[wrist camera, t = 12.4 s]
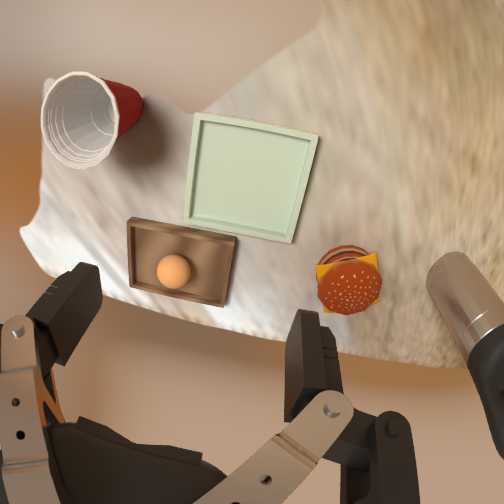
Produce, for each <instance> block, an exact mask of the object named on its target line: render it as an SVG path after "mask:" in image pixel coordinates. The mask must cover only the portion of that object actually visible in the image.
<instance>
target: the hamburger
mask: <svg viewBox="0 0 504 504" xmlns="http://www.w3.org/2000/svg"><path fill="white" fill-rule="evenodd" d="M315 267H316V279H317V282H318V295H317V296H318V298H319V299H320V300H321V302H322V303H323V307H324V312H325V313H335V312H336V313H339V314H343V315H349V314H353V313H357V312H361V311H364V310H365V309H366V308H368V307H369V306H370V305H372V304H374V303H376V302H378V301H379V292H380V288H381V284H382V278H381V276H380V274H379V273H378V264H377V255H376V252H374V253H372V254H370V255H369V254H368V253H367V252H366V251H365V250H364V249H362V248H359V247H356V246H353V245H348V246H339V247H337V248H335V249H332V250H330V251H329V252H328V253H327V254H325V255H324V256H323V257H322V258H321V260H320V262H319V265H315Z"/></svg>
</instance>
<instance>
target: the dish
mask: <svg viewBox="0 0 504 504" xmlns="http://www.w3.org/2000/svg"><path fill="white" fill-rule="evenodd" d="M318 137H319V135H318V134H317V133H313V132H309V131H304V130H300V129H296V128H291V127H286V126H282V125H277V124H272V123H267V122H262V121H256V120H251V119H245V118H239V117H233V116H227V115H220V114H213V113H206V112H196V113H195V116H194V123H193V130H192V138H191V145H190V153H189V162H188V171H187V180H186V190H185V200H184V211H183V223H186V224H192V225H197V226H202V227H207V228H213V229H218V230H223V231H228V232H233V233H239V234H244V235H249V236H254V237H259V238H264V239H269V240H274V241H279V242H284V243H289V244H291V242H292V238H293V234H294V231H295V227H296V223H297V220H298V216H299V212H300V208H301V204H302V201H303V197H304V193H305V189H306V185H307V181H308V178H309V174H310V170H311V166H312V162H313V158H314V154H315V150H316V146H317V141H318Z"/></svg>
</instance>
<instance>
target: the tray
mask: <svg viewBox="0 0 504 504" xmlns="http://www.w3.org/2000/svg"><path fill="white" fill-rule="evenodd" d="M235 241H236V236H231V235H226V234H220V233H215V232H210V231H205V230H200V229H194V228H189V227H184V226H179V225H173V224H168V223H163V222H157V221H152V220H147V219H141V218H136V217H131V218H130V219H129V220H128V221H127V248H128V269H129V285H130V287H132V288H136V289H140V290H144V291H149V292H153V293H157V294H161V295H166V296H170V297H175V298H179V299H184V300H188V301H193V302H197V303H202V304H207V305H212V306H217V307H222V308H224V304H225V299H226V293H227V287H228V281H229V276H230V270H231V264H232V258H233V252H234V246H235ZM172 254H175V255H179V256H182V257H183V258H185V259H186V260H187V262H188V263H189V266H190V270H191V274H190V278H189V280H188V282H187V283H186V284H185V285H184V286H182V287H180V288H177V289H171V288H168V287H165V286H164V285H163V284H162V283H161V282H160V281H159V279H158V276H157V267H158V264H159V262H160V261H161V260H162V259H163V258H164V257H166V256H168V255H172Z"/></svg>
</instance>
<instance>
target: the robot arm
mask: <svg viewBox="0 0 504 504" xmlns="http://www.w3.org/2000/svg"><path fill="white" fill-rule="evenodd" d="M427 288H428V290H429V292H430V294H431V296H432V298H433V299H434V301H435V303H436V305H437V307H438V309H439V311H440V313H441V314H442V316H443V318H444V320H445V322H446V324H447V326H448V328H449V330H450V332H451V334H452V336H453V338H454V340H455V342H456V344H457V346H458V348H459V350H460V352H461V354H462V356H463V358H464V361H465V363H466V365H467V367H468V369H469V371H470V373H471V376H472V378H473V381H474V383H475V386H476V388H477V391H478V393H479V395H480V398H481V401H482V404H483V407H484V411H485V414H486V418H487V421H488V425H489V429H490V432H491V435H492V439H493V442H494V444H495V447H496V449H497V451H498V453H499V455H500V456H501V457H502V458H503V459H504V303H503V302H502V300H501V299H500V297H499V296H498V295H497V293H496V292H495V291H494V289H493V288H492V287H491V285H490V284H489V283H488V281H487V280H486V279H485V278H484V276H483V275H482V274H481V273H480V271H479V270H478V269H477V268H476V266H475V265H474V264H473V263H472V262H471V260H470V259H469V258H468V257H467V256H466V255H465V254H463V253H460V252H454V253H450V254H447V255H445V256H444V257H442V258H440V259H439V260H438V261H437V262H436V263H435V264H434V266H433V267H432V268H431V270H430V272H429V274H428V278H427ZM102 298H103V296H102V289H101V281H100V274H99V268H98V267H97V266H95V265H92V264H88V263H84V262H80V263H78V264H77V265H76V267H75V268H74V269H73V270H72V271H71V272H70V271H67V272H66V273H64V274H62V275H61V276H59V277H58V278H57V279H56V280H55V281H54V282H53V283H52V284H51V287H49V288H48V289H47V290H46V291H45V293H44V294H43V295H42V296H41V297H40V298H39V300H38V301H37V302H36V303H35V304H34V305H33V307H32V308H31V309H30V310H29V312H28V313H27V314H26V315H25V316H22V315H21V316H14V317H12V318H10V319H9V320H7V321H6V322H5V324H0V443H1V450H0V504H282V503H283V502H284V501H285V500H286V499H287V498H288V496H289V495H290V494H291V493H292V492H293V491H294V490H295V489H296V488H297V487H298V486H299V485H300V484H301V482H302V481H303V480H304V479H305V478H306V477H307V476H308V475H309V473H310V472H311V471H312V470H313V469H314V467H315V466H316V465H317V463H318V461H319V460H320V459H321V458H324V459H327V460H330V461H333V462H336V463H339V464H341V483H340V504H420V496H419V485H418V476H417V467H416V460H415V453H414V446H413V439H412V433H411V428H410V424H409V422H408V421H407V419H406V418H405V417H404V416H403V415H401V414H400V413H397V412H394V411H387V412H384V413H382V414H380V415H379V416H378V417H376V416H373V415H370V414H367V413H364V412H361V411H359V410H357V409H355V408H354V407H353V405H352V403H351V401H350V400H349V399H348V398H347V397H346V396H345V395H344V393H343V387H342V381H341V373H340V366H339V360H338V352H337V346H336V340H335V337H334V335H333V334H332V332H331V330H330V329H329V327H323V326H320V322H319V314H318V312H314V311H308V310H302V309H298V311H297V313H296V316H295V318H294V321H293V324H292V326H291V329H290V332H289V335H288V338H287V341H286V348H285V401H284V402H285V403H284V404H285V405H284V422H289V423H290V424H289V425H288V426H287V427H286V428H285V429H284V430H283V431H282V432H281V433H279V434H276V435H275V436H274V437H272V438H271V439H270V440H269V441H268V442H267V443H265V444H264V445H263V446H262V447H261V448H260V449H259V450H258V451H257V452H256V453H255V454H254V455H252V456H251V457H250V458H249V459H248V460H247V461H246V462H244V463H243V464H242V465H241V466H240V467H239V468H237V469H236V470H235V471H234V472H233V473H232V474H230V475H229V476H226V475H225V474H224V473H223V472H222V471H221V470H219V469H218V468H216V467H215V466H213V465H211V464H210V463H208V462H206V461H203V460H202V453H200V452H196V451H191V450H187V449H182V448H178V447H174V446H170V445H145V444H136V443H133V442H131V441H129V440H128V439H126V438H124V437H123V436H121V435H120V434H118V433H116V432H115V431H113V430H112V429H110V428H109V427H107V426H104V425H102V424H99V423H96V422H94V421H91V420H88V419H86V418H84V417H81V416H79V418H78V421H77V423H72V422H68V423H66V421H65V419H64V417H63V414H62V412H61V408H60V404H59V400H58V395H57V390H56V385H55V380H54V374H53V370H52V366H53V365H54V363H57V364H60V365H62V366H65V365H66V363H67V361H68V359H69V357H70V356H71V354H72V353H73V351H74V349H75V347H76V346H77V344H78V343H79V341H80V339H81V338H82V336H83V335H84V333H85V331H86V330H87V328H88V327H89V325H90V323H91V322H92V320H93V319H94V317H95V316H96V314H97V313H98V311H99V309H100V307H101V304H102Z"/></svg>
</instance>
